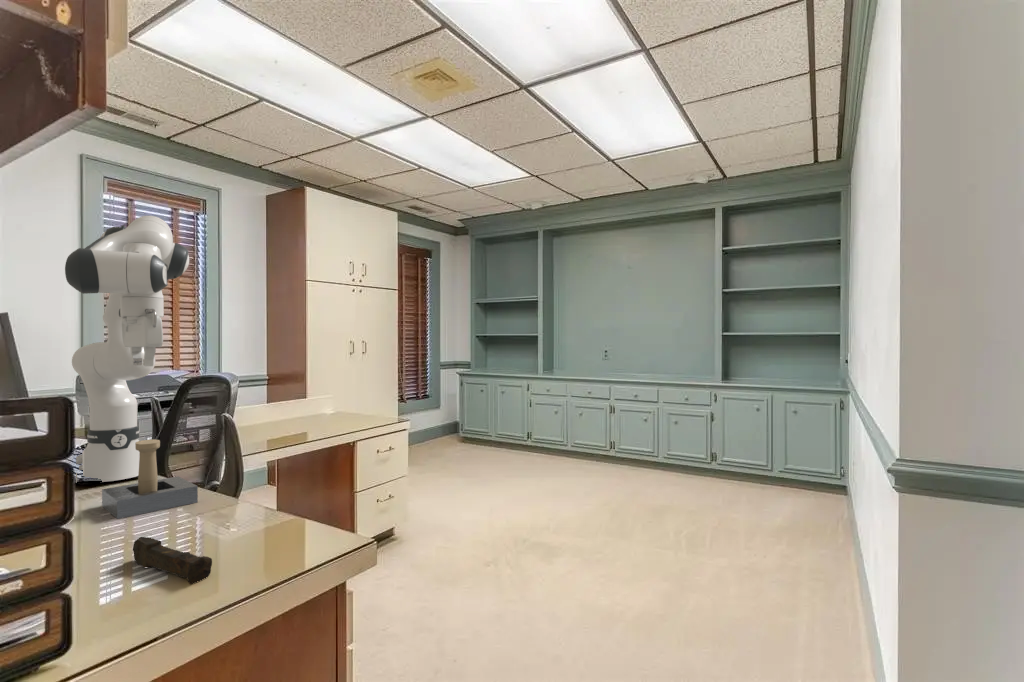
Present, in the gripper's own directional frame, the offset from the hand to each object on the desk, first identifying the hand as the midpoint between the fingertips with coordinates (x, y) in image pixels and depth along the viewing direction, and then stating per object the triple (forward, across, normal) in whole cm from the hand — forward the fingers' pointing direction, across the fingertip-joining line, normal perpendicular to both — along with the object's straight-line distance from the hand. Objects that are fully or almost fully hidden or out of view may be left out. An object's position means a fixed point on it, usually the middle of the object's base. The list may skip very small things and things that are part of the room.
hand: (142, 365), depth 132 cm
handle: (+33, -6, 0) cm, 34 cm away
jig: (+33, -6, 0) cm, 34 cm away
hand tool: (+34, -52, +10) cm, 62 cm away
